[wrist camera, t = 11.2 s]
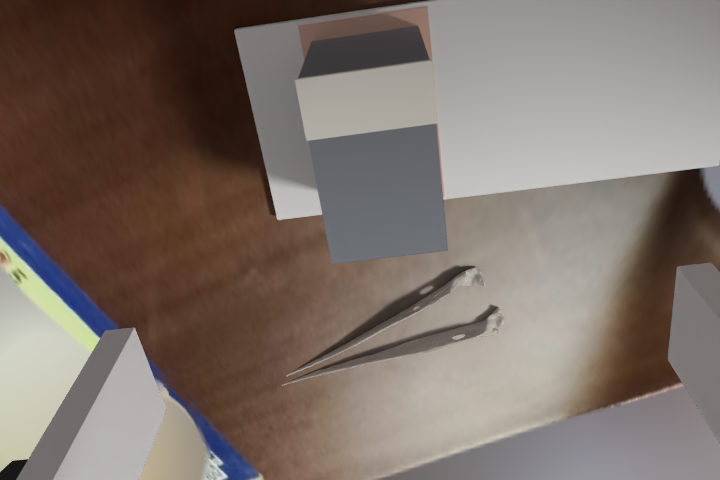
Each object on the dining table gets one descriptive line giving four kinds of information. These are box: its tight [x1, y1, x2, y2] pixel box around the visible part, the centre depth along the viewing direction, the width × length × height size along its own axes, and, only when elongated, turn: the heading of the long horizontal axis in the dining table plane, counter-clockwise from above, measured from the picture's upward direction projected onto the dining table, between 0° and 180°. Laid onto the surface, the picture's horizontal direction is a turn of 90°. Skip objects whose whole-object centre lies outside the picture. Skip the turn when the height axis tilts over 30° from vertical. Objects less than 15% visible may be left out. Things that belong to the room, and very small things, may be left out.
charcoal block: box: [295, 26, 448, 264], centre depth 29 cm, size 8×5×7 cm, turn 8°
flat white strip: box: [234, 0, 720, 220], centre depth 32 cm, size 23×10×1 cm, turn 98°
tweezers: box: [281, 267, 505, 386], centre depth 40 cm, size 17×5×2 cm, turn 119°
